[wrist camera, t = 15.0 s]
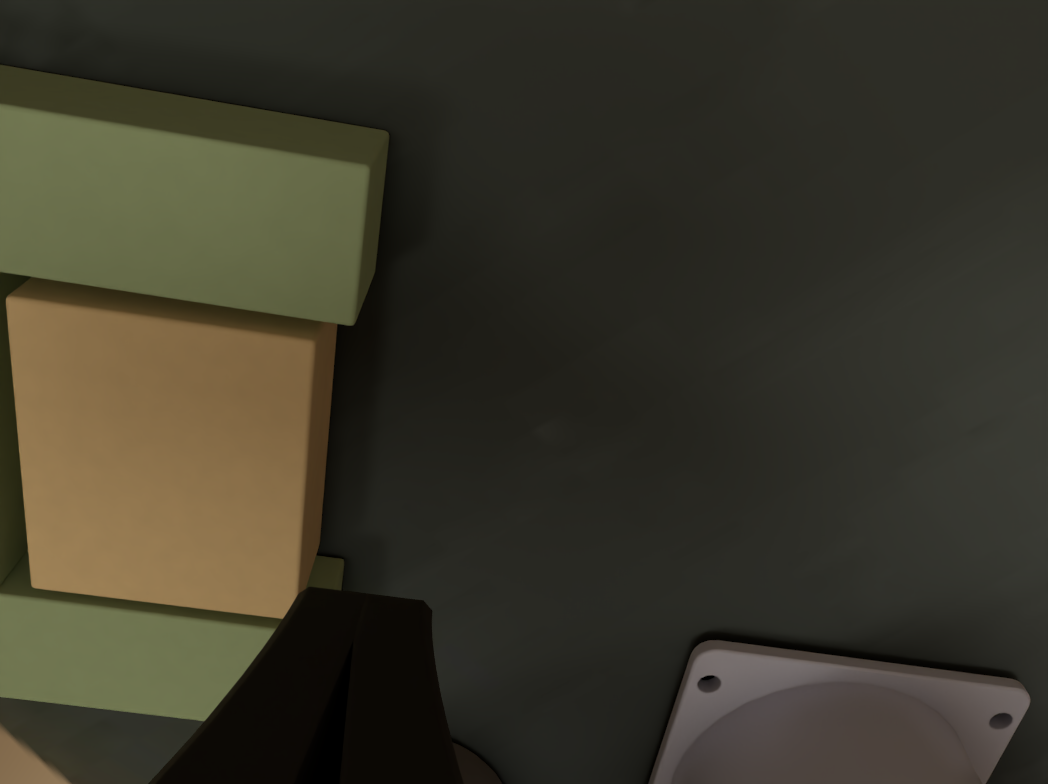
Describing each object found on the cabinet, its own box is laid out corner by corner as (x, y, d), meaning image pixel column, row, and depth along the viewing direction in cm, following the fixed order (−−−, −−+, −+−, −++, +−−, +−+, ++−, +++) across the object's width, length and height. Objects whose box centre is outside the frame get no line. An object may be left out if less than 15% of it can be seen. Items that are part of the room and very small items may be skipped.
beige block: (320, 544, 21) (295, 622, 18) (83, 513, 20) (29, 589, 18) (340, 286, 18) (315, 342, 16) (68, 245, 18) (2, 296, 15)
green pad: (335, 651, 22) (314, 735, 20) (-117, 594, 21) (-191, 675, 19) (390, 130, 17) (370, 166, 14) (-214, 26, 16) (-333, 48, 14)
